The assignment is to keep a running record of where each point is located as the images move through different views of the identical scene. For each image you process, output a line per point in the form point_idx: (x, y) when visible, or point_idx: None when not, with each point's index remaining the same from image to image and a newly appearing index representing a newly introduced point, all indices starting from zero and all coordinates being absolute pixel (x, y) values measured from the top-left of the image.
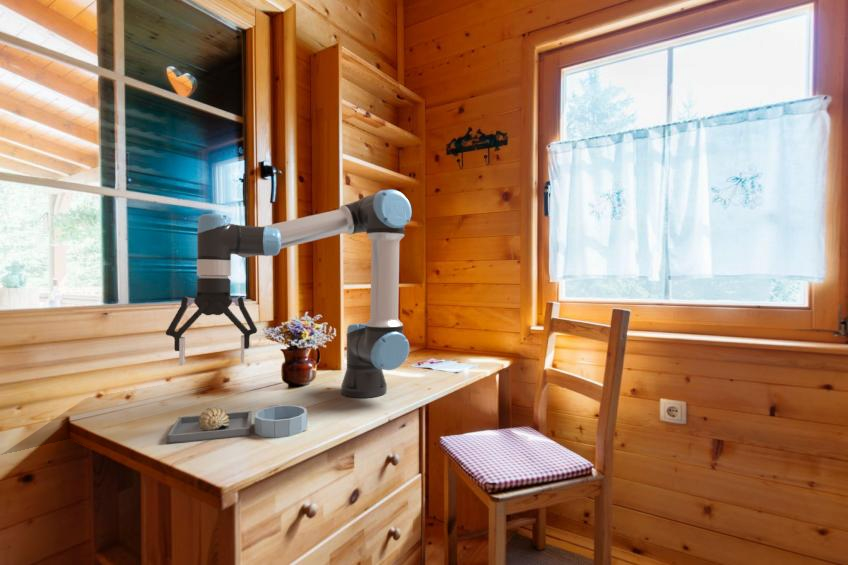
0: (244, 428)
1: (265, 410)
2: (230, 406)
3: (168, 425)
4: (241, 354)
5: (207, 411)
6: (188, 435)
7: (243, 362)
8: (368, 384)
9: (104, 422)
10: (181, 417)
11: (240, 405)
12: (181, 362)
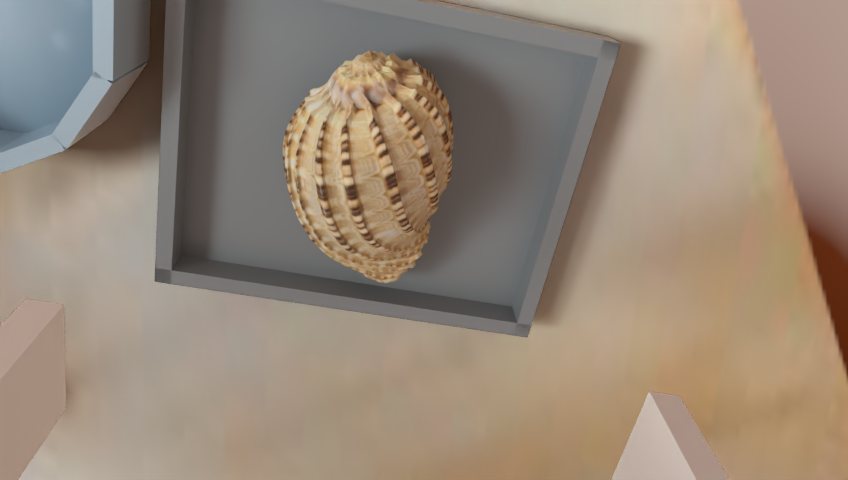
0: None
1: (49, 134)
2: (271, 475)
3: (565, 318)
4: (3, 360)
5: (407, 149)
6: (512, 20)
7: (29, 299)
8: None
9: (790, 464)
10: (517, 324)
11: (222, 472)
12: (670, 412)
